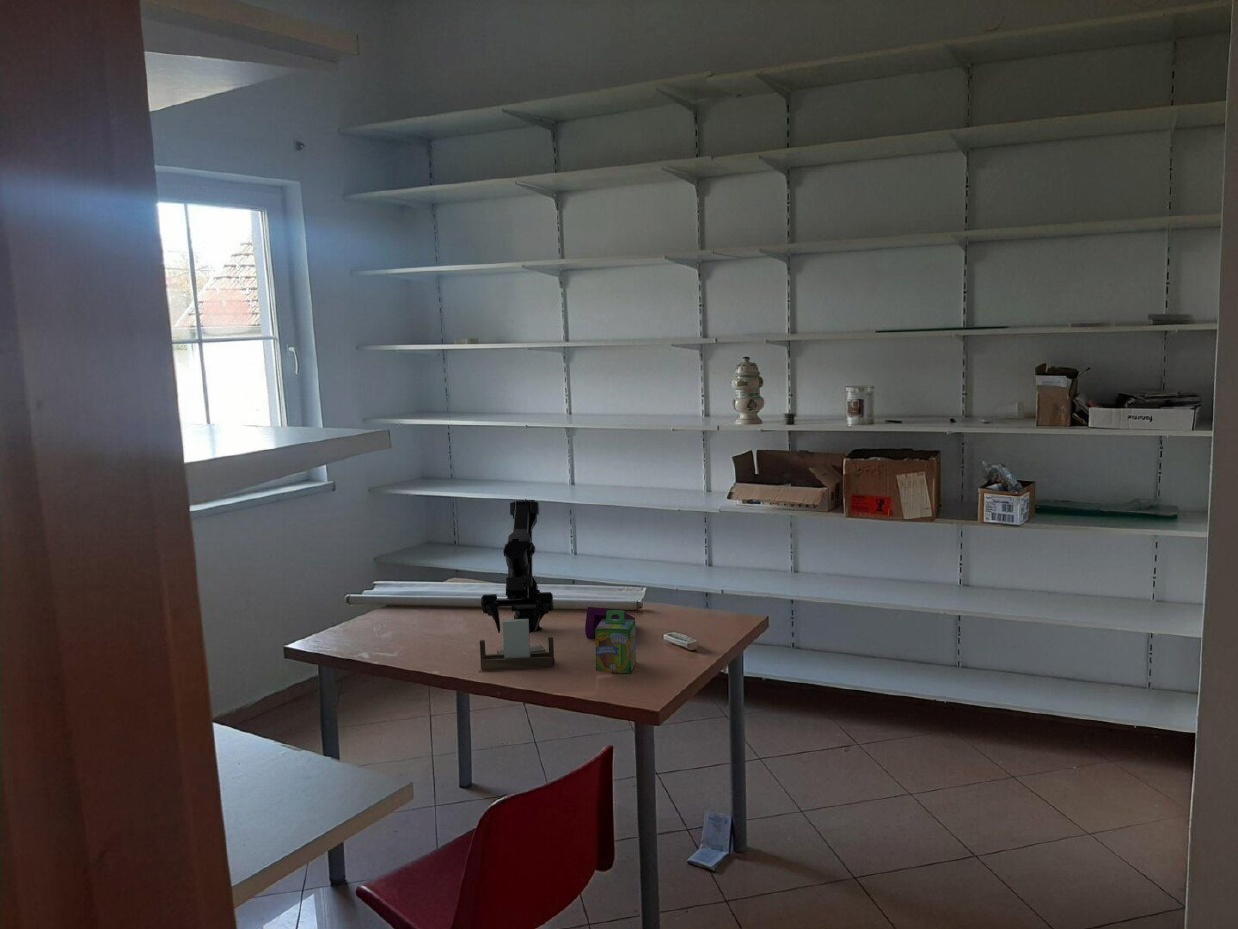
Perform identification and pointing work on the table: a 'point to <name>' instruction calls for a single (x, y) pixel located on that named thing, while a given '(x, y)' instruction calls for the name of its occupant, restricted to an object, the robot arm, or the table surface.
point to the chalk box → (615, 643)
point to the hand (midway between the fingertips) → (516, 631)
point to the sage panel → (516, 638)
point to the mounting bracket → (598, 619)
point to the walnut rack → (517, 660)
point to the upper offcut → (532, 649)
